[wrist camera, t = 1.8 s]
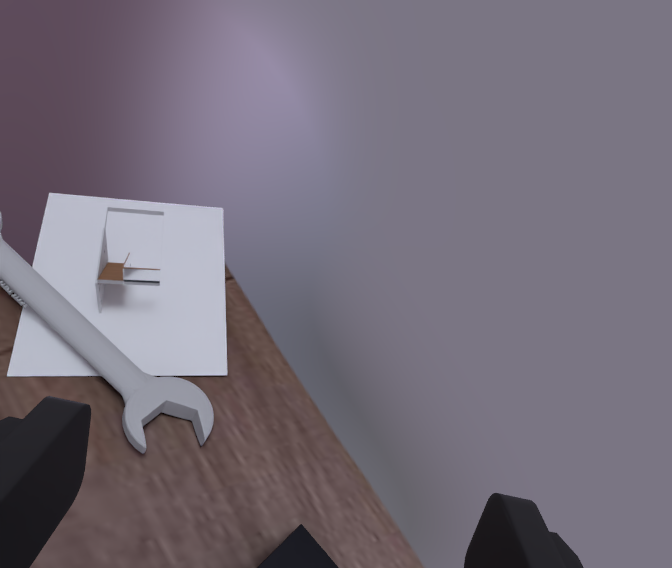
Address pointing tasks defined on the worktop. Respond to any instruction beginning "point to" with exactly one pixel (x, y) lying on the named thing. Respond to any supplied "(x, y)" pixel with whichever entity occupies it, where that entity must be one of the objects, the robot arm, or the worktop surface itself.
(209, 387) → the worktop surface
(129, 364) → the wrench
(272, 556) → the laptop screen
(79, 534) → the worktop surface
